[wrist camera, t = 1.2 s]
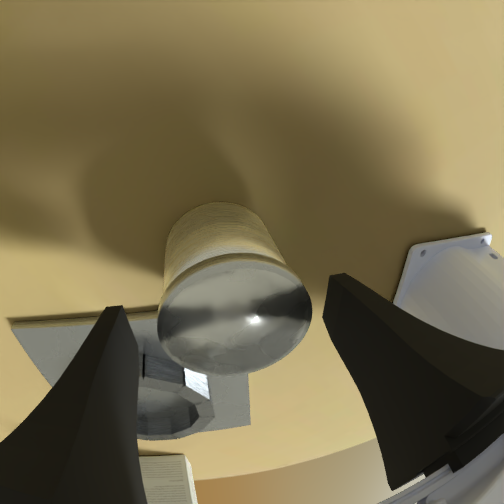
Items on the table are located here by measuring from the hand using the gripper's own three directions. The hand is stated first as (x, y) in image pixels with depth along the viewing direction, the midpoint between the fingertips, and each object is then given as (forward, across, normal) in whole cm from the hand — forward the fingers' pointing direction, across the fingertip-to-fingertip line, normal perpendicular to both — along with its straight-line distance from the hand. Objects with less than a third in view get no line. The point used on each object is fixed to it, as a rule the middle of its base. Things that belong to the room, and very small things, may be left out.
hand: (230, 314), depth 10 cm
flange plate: (+4, +6, +10) cm, 12 cm away
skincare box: (+4, +9, +26) cm, 28 cm away
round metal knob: (+4, 0, 0) cm, 4 cm away
